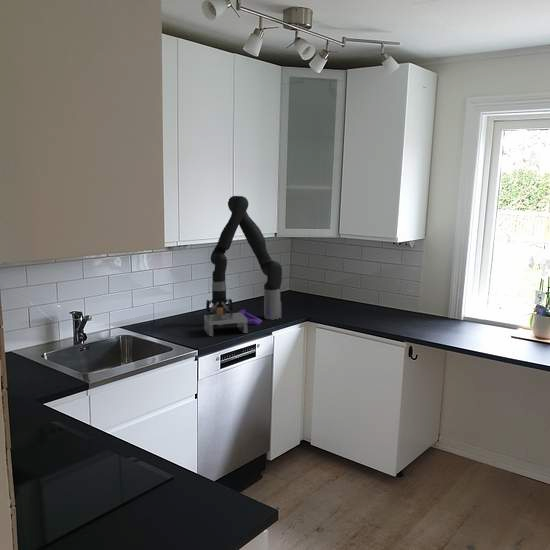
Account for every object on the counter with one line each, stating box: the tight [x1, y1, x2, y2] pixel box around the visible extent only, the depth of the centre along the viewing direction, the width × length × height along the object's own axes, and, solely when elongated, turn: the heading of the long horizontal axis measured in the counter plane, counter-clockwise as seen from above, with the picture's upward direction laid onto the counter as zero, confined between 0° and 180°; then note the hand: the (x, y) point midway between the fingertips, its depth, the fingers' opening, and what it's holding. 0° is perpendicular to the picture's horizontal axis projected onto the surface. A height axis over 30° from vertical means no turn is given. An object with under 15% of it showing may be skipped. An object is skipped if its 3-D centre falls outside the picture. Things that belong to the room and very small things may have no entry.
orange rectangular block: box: [215, 307, 224, 327], centre depth 303 cm, size 3×4×10 cm, turn 17°
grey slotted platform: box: [203, 312, 249, 337], centre depth 289 cm, size 20×14×8 cm
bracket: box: [237, 309, 263, 326], centre depth 308 cm, size 12×7×7 cm, turn 71°
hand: (219, 318), depth 304 cm, fingers open, 8 cm apart
